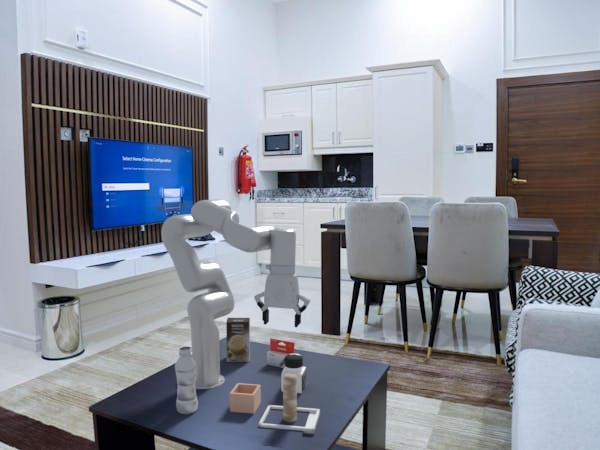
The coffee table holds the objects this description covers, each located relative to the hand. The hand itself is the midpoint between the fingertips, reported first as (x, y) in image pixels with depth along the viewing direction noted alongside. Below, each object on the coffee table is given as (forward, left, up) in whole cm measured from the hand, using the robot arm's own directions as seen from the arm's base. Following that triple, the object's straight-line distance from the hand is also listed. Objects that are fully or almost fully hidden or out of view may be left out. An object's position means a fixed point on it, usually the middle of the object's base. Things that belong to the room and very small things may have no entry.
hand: (281, 324), depth 148 cm
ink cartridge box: (-8, +33, -27) cm, 43 cm away
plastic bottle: (-28, -8, -27) cm, 39 cm away
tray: (+4, -8, -26) cm, 28 cm away
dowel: (+4, -8, -26) cm, 27 cm away
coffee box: (-26, +37, -27) cm, 52 cm away
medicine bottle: (+1, +13, -27) cm, 30 cm away
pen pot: (-11, -3, -26) cm, 29 cm away
